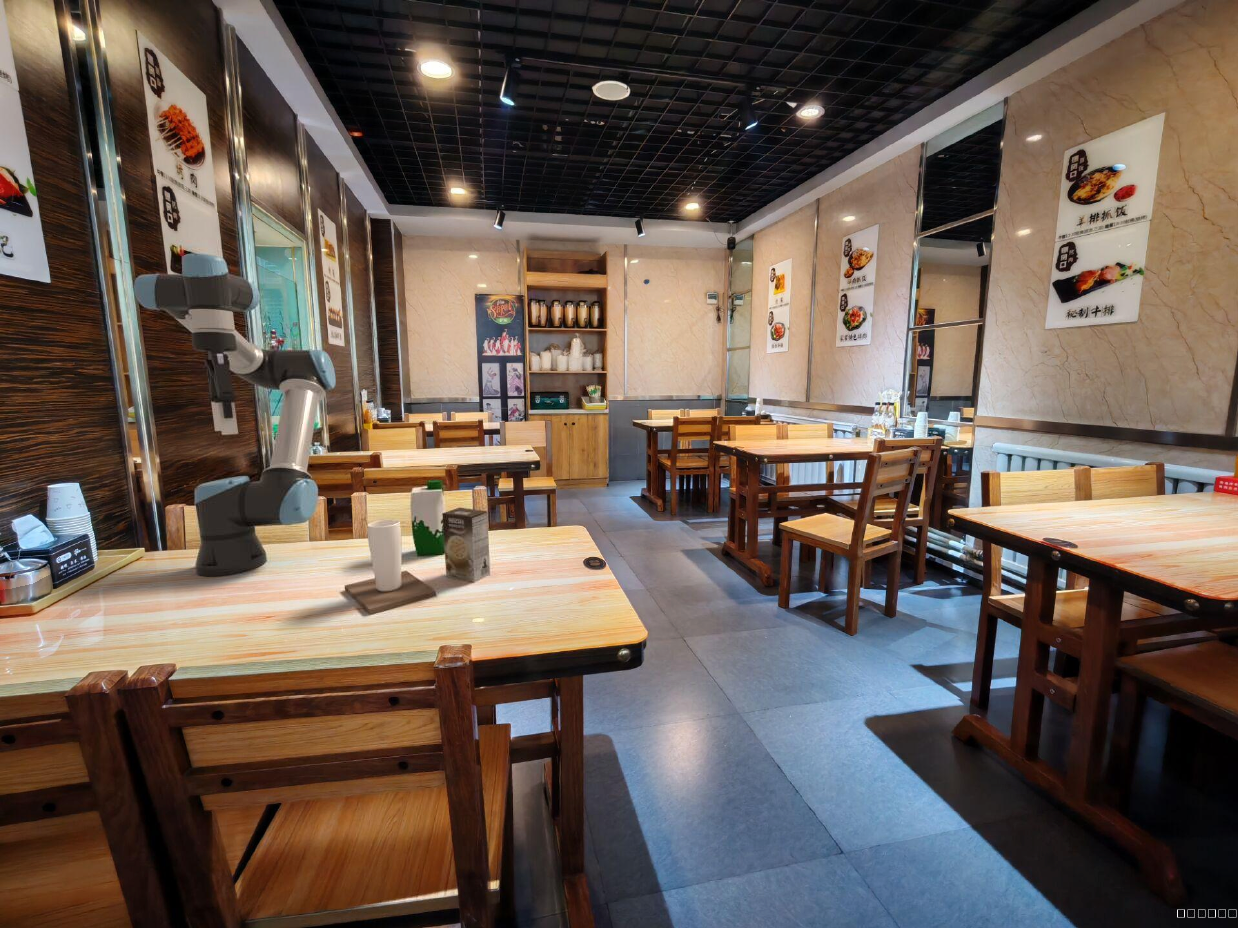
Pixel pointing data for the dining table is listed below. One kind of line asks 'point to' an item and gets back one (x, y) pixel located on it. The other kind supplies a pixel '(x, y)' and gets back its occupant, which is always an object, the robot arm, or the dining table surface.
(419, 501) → the milk carton
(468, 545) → the coffee box
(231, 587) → the dining table surface
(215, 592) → the dining table surface
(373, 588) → the serving board
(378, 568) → the drinking glass
